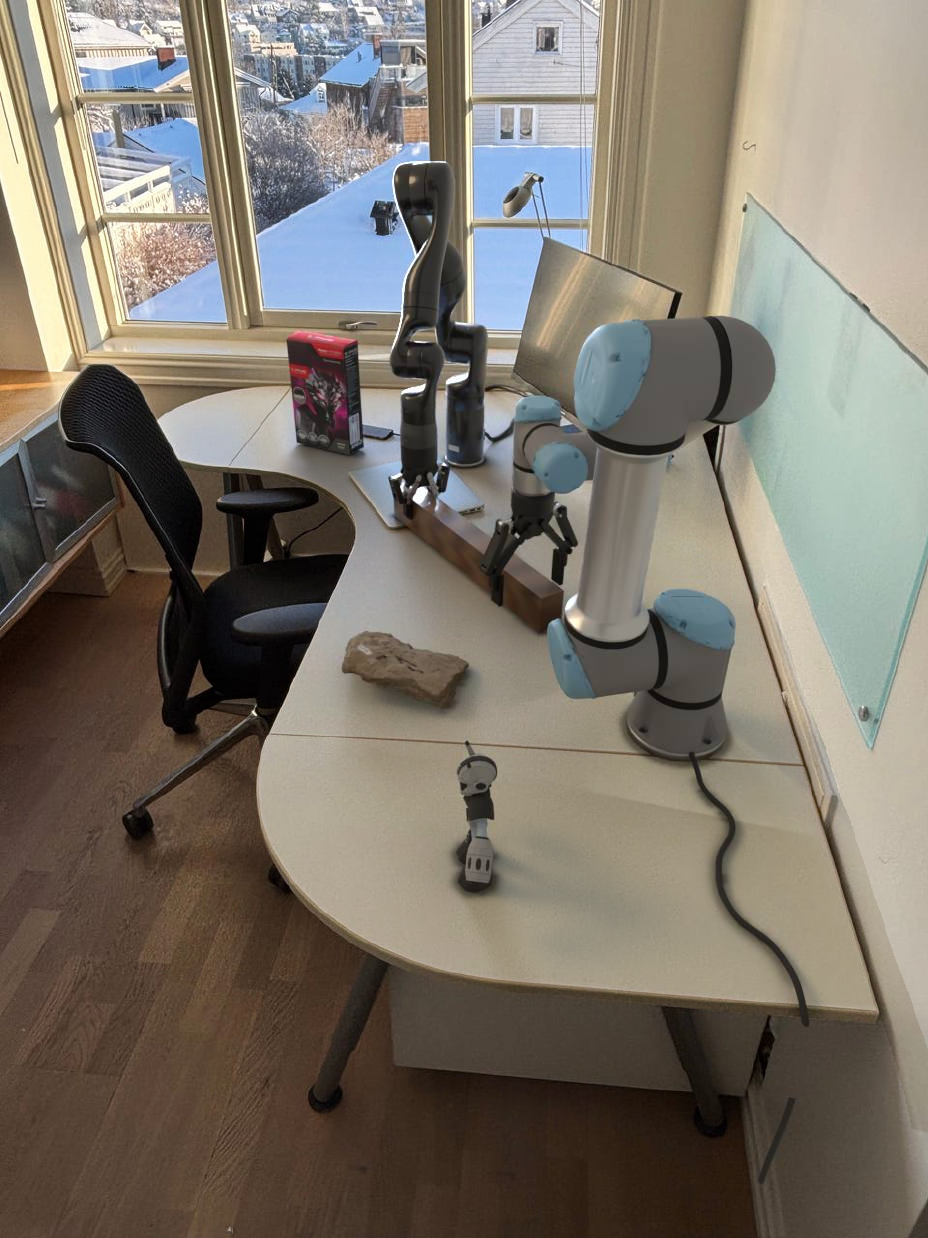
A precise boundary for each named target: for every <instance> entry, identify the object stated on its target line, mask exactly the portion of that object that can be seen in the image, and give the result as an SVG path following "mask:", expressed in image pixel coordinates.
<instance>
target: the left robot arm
mask: <svg viewBox="0 0 928 1238" xmlns="http://www.w3.org/2000/svg"><path fill="white" fill-rule="evenodd" d="M392 189H393V195H394V196H393V197H394V200H395V203H396V207H397V210H398V212H399V215H400V217H401V220H402V222H403V224H404V225H403V226H404V227H405V230H406V232H407V234H408V237H409V239H410V243H411V245H412V249H413V252H414V256H415V258H414V260H413V261H412V263H411V264H410V266H409V268H408V270H407V272H406V274H405V277H404V281H403V286H402V302H401V303H402V304H401V316H400V322H399V326H398V329H397V333H396V337H395V339H394V342H393V345H392V348H391V350H390V354H389V360H388V363H389V368H390V370H391V372H392V374H393V375H394V376H395V377H396V378H399V379H410V380H424V381H425V383H424V384H422V385H419V386H413V387H409V388H406V389H404V390H403V391H402V392H401V394H400V402H399V403H400V427H399V436H400V437H399V439H400V440H399V441H400V463H401V468H400V471H399V473H398V474H396V475H392V474H391V475H389V476H388V477H387V480H388V483H389V487H390V490H391V494H392V498H393V501H394V500H396V501H397V502H399V503H400V504H403V515H404V516H405V517H406V518H407V519H409V520H411V519H413V504H412V500H413V497H414V495H415V494H416V492H417V489H418V488H420V487H426V488H425V489H426V490H427V491H429V492H430V493H432V494H433V495H434V496H436V497H437V498H438V499H439V496H440V494H442V493H443V494H444V493H445V492H446V491H447V486H448V482H449V476H450V472H451V466H453V467H456V468H473V467H474V468H475V467H476V466H477V467H478V466H480V465H481V464H483V462H484V460H485V456H484V454H485V453H484V451H485V450H484V449H485V448H484V447H485V441H486V438H487V440H488V441H491V442H495V441H499V440H500V439H502V438H504V437H505V436H506V435H507V434H508V433H509V432H510V431H511V430H512V429H513V428H514V423H513V420H514V417H513V418H512V419H511V421H510V423H509V426H508V427H507V428H506V429H504V431H503V432H501V433H500V434H498V435H496V436H494V437H492V436H491V435H490V434H489V433H488V432H487V431H486V429H485V410H486V409H485V405H486V403H485V401H486V381H487V364H488V354H489V353H488V352H489V332H488V330H487V328H486V326H484V325H482V324H479V323H471V322H462V321H461V322H460V321H456V320H455V319H454V316H453V313H454V311H455V309H456V308H457V306H458V305H459V303H460V301H461V300H462V299H463V296H464V295H465V292H466V289H467V285H468V281H467V280H468V278H467V274H466V270H465V266H464V265H465V264H464V261H463V257H462V255H461V253H460V251H459V249H458V248H457V247H456V246H455V244H453V242H452V241H451V240H450V239H449V236H450V230H451V224H452V219H453V214H454V208H455V200H456V179H455V174H454V170H453V168H452V166H451V165H450V164H449V163H448V162H446V161H409V162H403V163H400V164H398V165H397V166H396V168H395V170H394V172H393V176H392ZM429 217H432V220H430V219H429ZM431 221H432V222H431ZM433 329H434V333H435V338H436V342H434V341H419V340H417V341H415V340H412V338H413V337H414V336H415V335H416V334H417V333H419V332H423V331H429V330H433ZM445 363H449V364H454V365H462V366H468V370H467V372H464V373H459V374H456V375H452V376H451V377H449V378H448V379H447V380H446V382H445V462H443V461H441V462H440V463H438V457H439V456H438V454H439V453H438V426H437V394H438V389H439V383H440V380H441V377H442V373H443V371H444V366H445ZM449 465H450V466H449ZM436 474H437V476H436ZM435 476H436V481H435ZM403 480H404V482H402V481H403ZM402 483H404V485H403V494H402V490H401V487H400V486H401V485H402ZM410 486H411V488H410Z"/></svg>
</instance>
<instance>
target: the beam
mask: <svg viewBox="0 0 928 1238" xmlns="http://www.w3.org/2000/svg"><path fill="white" fill-rule="evenodd" d="M403 485H404V482H402V485H401V486H400V487H401V490H402V494H403ZM410 488H411V486H410ZM412 504H413V519H411V520H409V519H407V518H406V517H405V516H404V515H403V504H400V503H399V502H397V501H396V500H394V499H393V516H394V517H395V518H396V519H397V520H398V521H400V522H401V523H402V524H403V525H405V526H406V527H407V528H408V529H410V530H411V531H412V532H414V533H415V534H416V535H417V536H419V537H420V538H421V539H422V540H424V541H425V542H426V543H427V544H428V545H430V546H431V547H432V548H433V549H434V550H436V551H437V552H438V553H439V554H441V555H442V556H443V557H444V558H446V559H447V560H448V561H449V562H450V563H452V564H453V565H454V566H456V568H458V569H459V570H461V571H462V573H464V574H466V576H468V577H469V578H470V579H472V580H473V581H474V582H475V583H476V584H478V585H479V586H480V587H481V588H483V589H484V590H485V591H486V592H488V593H489V594H490V595H491V589H490V588H489V586H488V577H489V576H487V575H485V574H484V573H483V572H482V571H480V570H479V565H480V563H481V561H482V559H483V556H484V554H485V552H486V549H487V547H488V545H489V543H490V540H491V538H492V536H490V535H489V534H488V533H486V532H485V531H483V530H482V529H481V528H479V527H478V526H477V525H476V524H474V523H473V522H471V521H470V520H468V519H467V518H466V517H465V516H464V515H462V514H460V513H459V512H458V511H457V510H455V509H454V508H452V507H451V506H449V505H448V504H446V502H444V501H442V500H441V499H440V498H439V497H438V498H437V497H436V496H434V495H433V494H432V493H430V492H429V491H428V490H427V488H425V487H424V486H422V487H420V488H418V489H417V492H416V494H415V495H414V497H413V500H412ZM501 573H502V574H503V575H504V590H503V606H505V607H506V608H507V609H508V610H510V611H511V612H512V613H514V614H515V615H516V616H517V617H519V618H520V619H521V620H522V621H523V622H524V623H526V624H527V625H528V626H529V627H531V628H532V629H533V630H535V632H537V633H538V634H541V633H544V632H547V629H548V625H549V623H550V622H552V621H553V620H556V619H557V618H558V619H563V610H564V609H563V606H564V597H565V596H564V595H565V590H564V589H563V588H561V587H560V586H559V585H558V584H557V583H555V582H554V581H553V580H551V579H549V578H548V577H546V576H545V575H544V574H542V573H541V572H539V570H537V569H535V568H534V567H533V566H531V565H530V564H528V563H527V562H526V561H525V560H523V559H522V558H520V557H519V556H518V555H516V553H514V554H513V555H512V557H511V558H510V560H509V561H508V563H507V564H506V566H505V567H504V569H503V570H502V572H501Z"/></svg>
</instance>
